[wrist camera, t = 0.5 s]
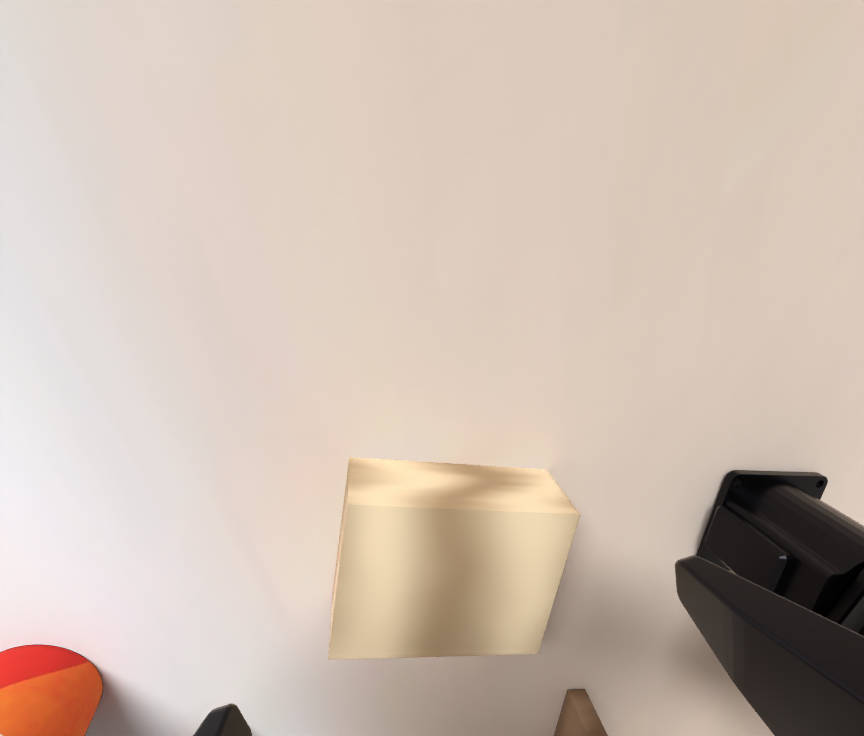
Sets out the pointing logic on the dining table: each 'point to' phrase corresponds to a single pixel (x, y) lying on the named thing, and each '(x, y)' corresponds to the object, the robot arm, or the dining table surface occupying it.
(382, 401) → the dining table surface
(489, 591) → the cream rectangular block
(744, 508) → the robot arm
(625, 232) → the dining table surface
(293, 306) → the dining table surface
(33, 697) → the paper cup
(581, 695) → the brown angled piece
